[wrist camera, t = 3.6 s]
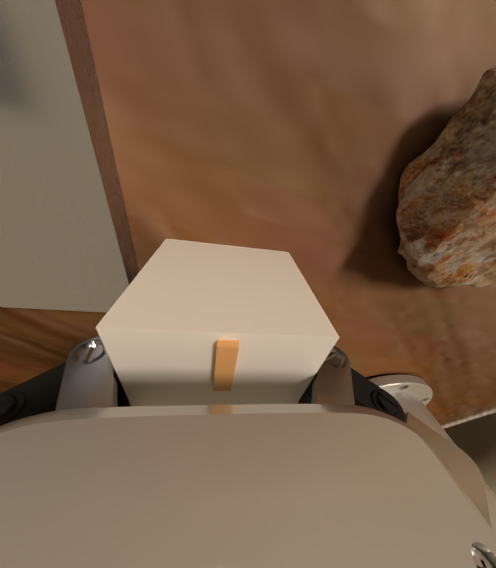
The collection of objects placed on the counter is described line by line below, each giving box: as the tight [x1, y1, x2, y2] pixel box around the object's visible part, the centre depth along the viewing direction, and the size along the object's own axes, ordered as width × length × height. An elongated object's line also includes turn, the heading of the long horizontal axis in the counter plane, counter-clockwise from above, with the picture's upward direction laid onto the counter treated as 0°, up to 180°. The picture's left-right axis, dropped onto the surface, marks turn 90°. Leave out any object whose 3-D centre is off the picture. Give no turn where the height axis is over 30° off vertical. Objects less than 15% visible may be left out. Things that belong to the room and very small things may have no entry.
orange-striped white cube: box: [96, 239, 339, 406], centre depth 9 cm, size 7×7×6 cm
